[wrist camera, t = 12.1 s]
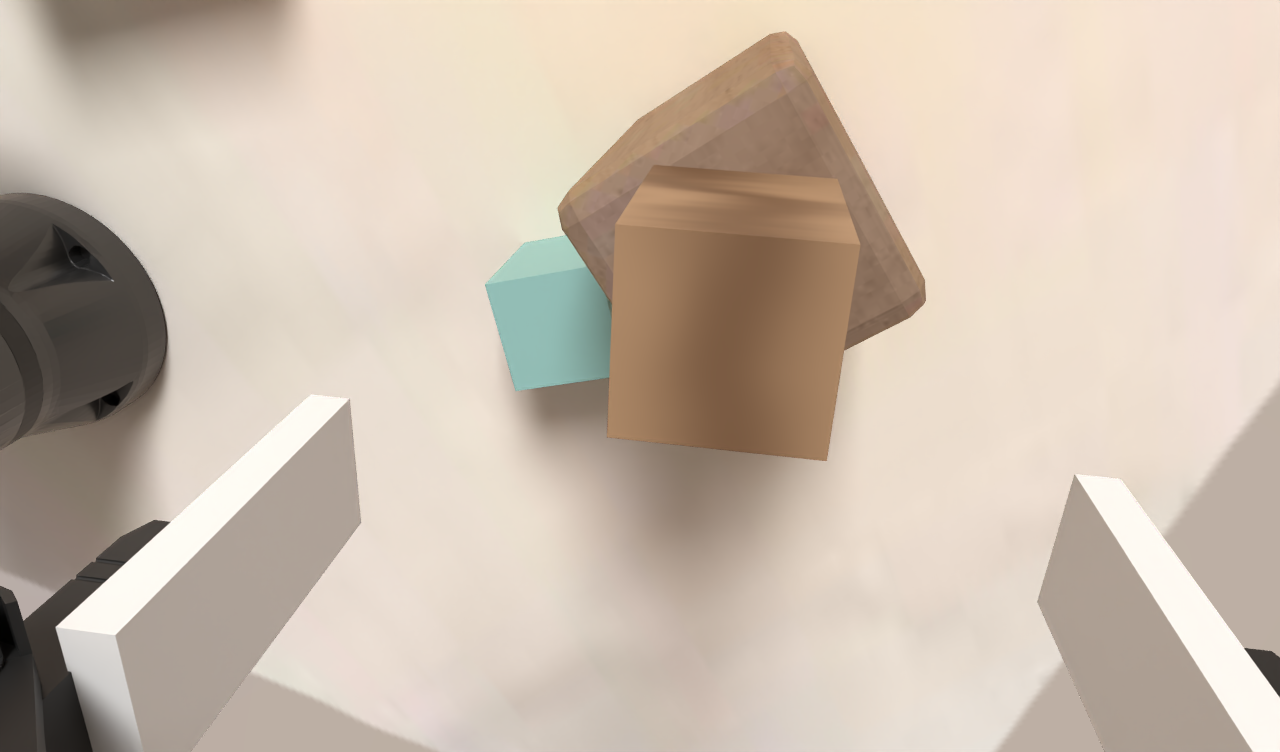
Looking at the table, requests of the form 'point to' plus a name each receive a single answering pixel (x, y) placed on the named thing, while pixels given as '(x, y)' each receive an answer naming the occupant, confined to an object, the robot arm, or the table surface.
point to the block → (752, 170)
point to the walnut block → (730, 311)
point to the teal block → (551, 316)
